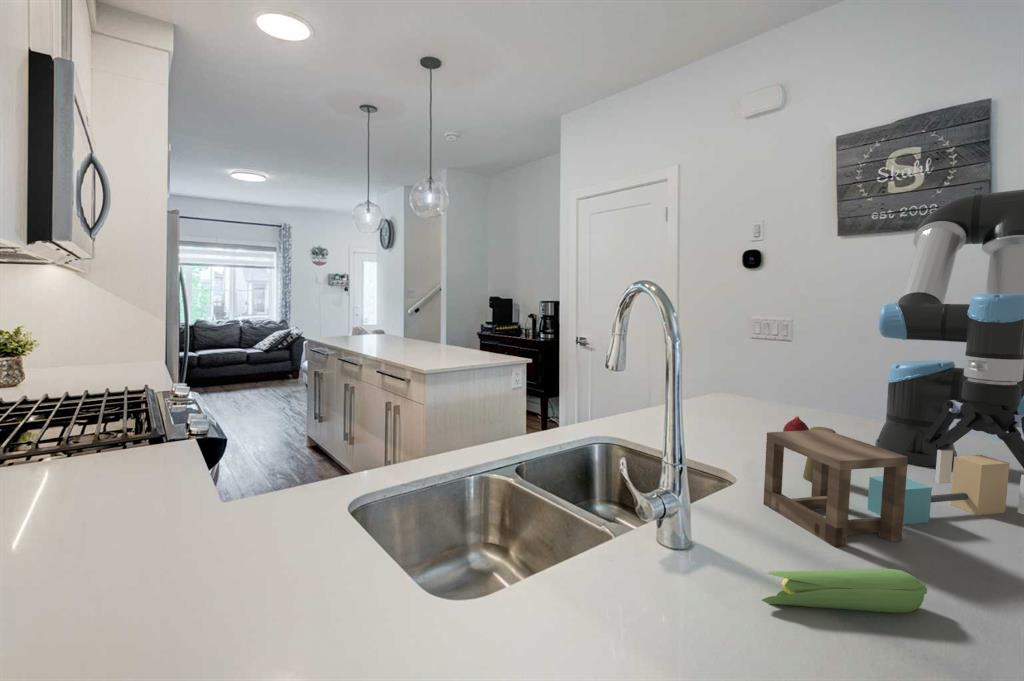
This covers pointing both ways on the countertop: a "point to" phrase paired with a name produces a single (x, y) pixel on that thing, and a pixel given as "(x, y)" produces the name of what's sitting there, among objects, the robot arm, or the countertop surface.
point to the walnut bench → (835, 484)
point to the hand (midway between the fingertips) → (981, 496)
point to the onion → (795, 425)
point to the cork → (809, 462)
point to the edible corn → (851, 590)
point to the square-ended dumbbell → (953, 490)
